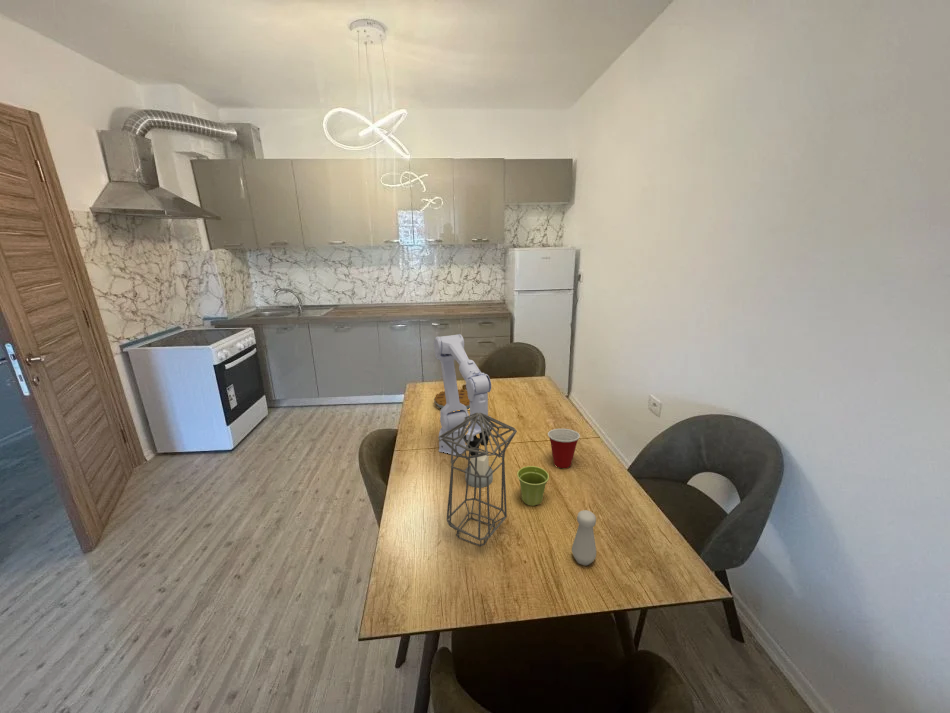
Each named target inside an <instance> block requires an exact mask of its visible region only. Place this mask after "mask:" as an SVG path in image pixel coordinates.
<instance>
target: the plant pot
mask: <svg viewBox="0 0 950 713" xmlns="http://www.w3.org/2000/svg"><path fill="white" fill-rule="evenodd" d="M516 474H517V479H518V480H519V486H520V492H521V500H522V501H523V502H524V504H526V505H528V506H531V507H532V506H534V507H535V506H536V505H540V504H542V502H543V498H544V494H545V488H546V485H547V483H548V481H549V479H550V474H549V472H547V470H545V469H544V468H542V467H539V466H536V465H527V466H523V467H522V468H519V469H518V471H517V473H516Z"/></svg>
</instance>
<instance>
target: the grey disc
mask: <svg viewBox="0 0 950 713" xmlns="http://www.w3.org/2000/svg"><path fill="white" fill-rule="evenodd" d="M490 466H491V465H489V468H490ZM467 469H468V466H467V467H466V469H465V470H464V471H466V472H467ZM488 470H489V469H488ZM493 470H494V469H492V467H491V469H490V471H489V472H488V471H487V472H488V474H487V476H488V475H489V474H490V473H491V472H492V471H493ZM487 472H486V473H487ZM469 473H471V464H470V468H469ZM464 474H465V476H464V477H465V479H464V480H465V482H466V481H467V473H465V472H464ZM493 474H494V473H493ZM493 474H492V475H491V476H490V477H489V486H490V485H491V484H492V483H493V480H494V478H493V477H494V476H493ZM485 475H486V474H485ZM477 476H478V475H477ZM474 480H475V476H473V475H470V474H469V480H468V487H472V488H474ZM482 488H487V478H481V489H482ZM476 489H479V478H478V477H476Z"/></svg>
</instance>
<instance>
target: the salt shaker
mask: <svg viewBox="0 0 950 713" xmlns="http://www.w3.org/2000/svg"><path fill="white" fill-rule="evenodd" d="M576 521H577V524H578V526H577V527H578V528H577V529H576V532H575V533H576V534H575V537H574V540H573V544H572V546H571V552H572V553H571V554H572V555H573V558H574V559H575V561H576V562H577V564H578V565H581V566H585V567H586V566H589V565H591V564H592V563H593V562H594V560H595V559H596V557H597V546H596V541H595V539H596V538H595V533H594V532H595V531H594V527H595V526H596V524H597V517H596V515H595V513H593V512H592V511H590V510H587V509H584V510H580V511H579V512H578V513H577V517H576Z"/></svg>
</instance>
